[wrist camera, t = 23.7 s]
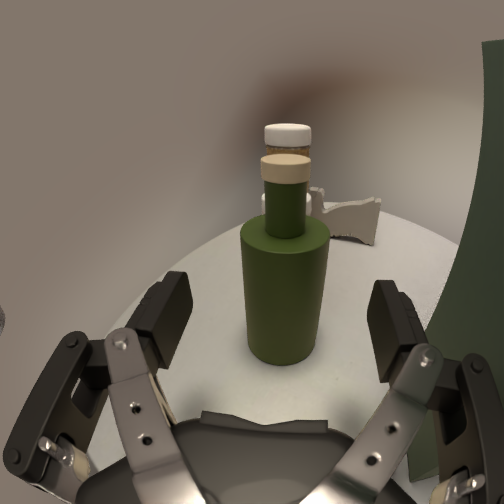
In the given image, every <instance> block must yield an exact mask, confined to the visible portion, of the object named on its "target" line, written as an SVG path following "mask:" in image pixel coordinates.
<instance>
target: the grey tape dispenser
mask: <svg viewBox="0 0 504 504" xmlns="http://www.w3.org/2000/svg"><path fill="white" fill-rule="evenodd" d="M308 191H309V194H310V196H311V208H312V211H311V214H310V216H311V217H314V218H316V219H318V220H320V221H321V222H323V223H324V224H325V225H326V226H327V227H328V229H329V231H330V235H331V237H333V235H335V237H337V235H338V237H339V236H342V235H343V236H345V235H346V236H347V235H349V236H351V233H352V236H353V237H357V238H359V239H360V240H361V241H362V242H364V243H365V244H368V243H369V244H370V245H371V246H373V243H374V239H375V233H376V228H377V223H378V217H379V211H380V205H381V199H379V198H377V199H375V197H371V198H369V199H366V200H363V201H349V202H343V203H340V204H337V205H335V206H333V207H331V208H329V209H325V208H324V205H323V197H324V195H325V192H324V190H323V189H320V190H319V188H317V187H310V189H308Z"/></svg>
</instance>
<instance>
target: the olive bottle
mask: <svg viewBox="0 0 504 504" xmlns="http://www.w3.org/2000/svg"><path fill="white" fill-rule="evenodd" d="M310 166H311V160H310V159H309V158H308V157H305V156H301V155H295V154H274V155H268V156H265V157H262V158H261V177H262V179H263V180H264V187H265V214H264V215H260V216H257V217H254V218H253V219H250V220H249V221H247V222H246V223H245V224H244V225H243V226H242V228H241V230H240V239H241V253H242V268H243V282H244V296H245V309H246V322H247V336H248V345H249V347H250V350H251V351H252V353H253V354H254V355H255V356H256V357H257V358H259V359H260V360H262V361H264V362H266V363H269V364H273V365H290V364H294V363H297V362H299V361H301V360H303V359H304V358H306V357H307V356H308V355H309V354H310V353H311V351H312V350H313V348H314V344H315V339H316V334H317V328H318V322H319V316H320V310H321V303H322V297H323V290H324V282H325V275H326V267H327V259H328V251H329V242H330V231H329V229H328V227H327V226H326V225H325V224H324V223H323V222H321V221H320V220H318V219H316V218H314V217H311V216H308V215H306V202H307V181H308V180H309V179H310V169H311V167H310Z"/></svg>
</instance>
